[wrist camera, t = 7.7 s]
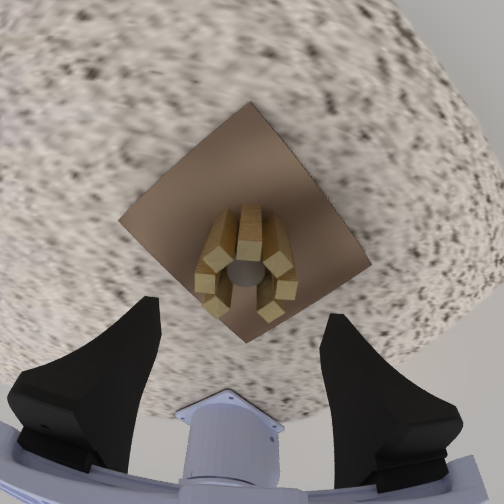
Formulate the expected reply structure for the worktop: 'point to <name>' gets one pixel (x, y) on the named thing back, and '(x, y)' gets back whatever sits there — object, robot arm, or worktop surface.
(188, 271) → the post base
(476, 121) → the worktop surface
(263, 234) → the wooden block ring
